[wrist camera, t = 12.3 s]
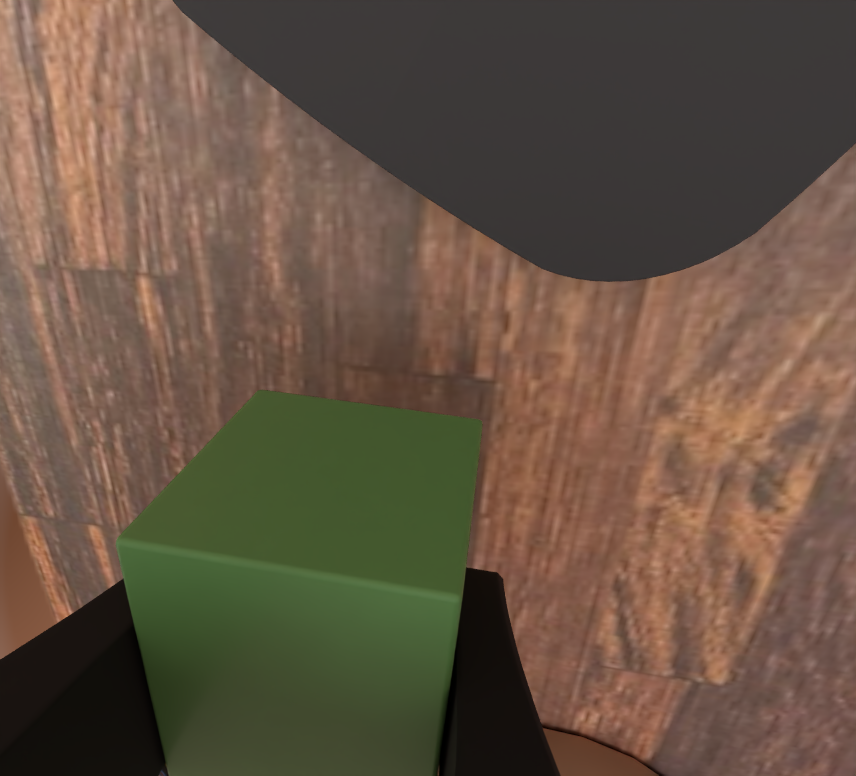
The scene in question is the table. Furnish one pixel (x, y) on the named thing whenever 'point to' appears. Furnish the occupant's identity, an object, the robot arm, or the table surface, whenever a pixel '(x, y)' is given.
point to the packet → (306, 590)
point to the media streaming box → (572, 111)
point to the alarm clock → (590, 757)
